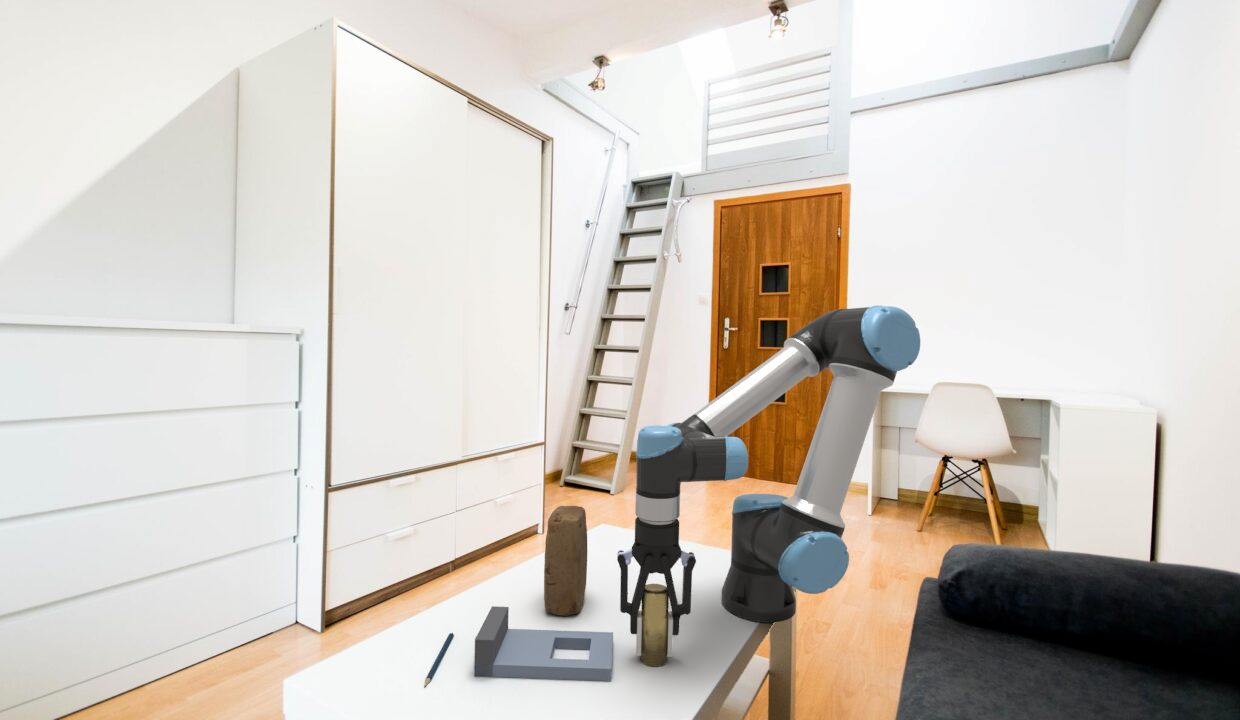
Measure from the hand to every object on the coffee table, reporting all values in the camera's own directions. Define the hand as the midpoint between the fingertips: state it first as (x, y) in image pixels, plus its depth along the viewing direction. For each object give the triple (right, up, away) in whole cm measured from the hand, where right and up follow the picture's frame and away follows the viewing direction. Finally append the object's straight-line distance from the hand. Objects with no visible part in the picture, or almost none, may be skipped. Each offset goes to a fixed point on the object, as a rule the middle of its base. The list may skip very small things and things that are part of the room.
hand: (653, 651), depth 94 cm
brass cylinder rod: (0, -1, 0) cm, 1 cm away
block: (-17, -1, +18) cm, 25 cm away
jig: (-18, -1, -1) cm, 18 cm away
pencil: (-36, -1, -2) cm, 36 cm away
